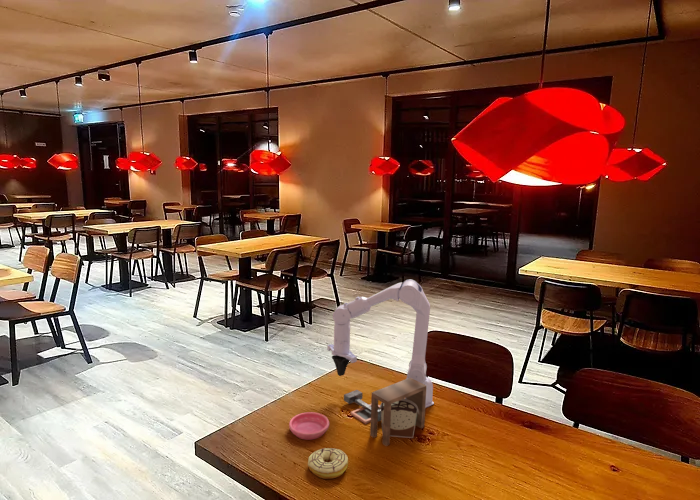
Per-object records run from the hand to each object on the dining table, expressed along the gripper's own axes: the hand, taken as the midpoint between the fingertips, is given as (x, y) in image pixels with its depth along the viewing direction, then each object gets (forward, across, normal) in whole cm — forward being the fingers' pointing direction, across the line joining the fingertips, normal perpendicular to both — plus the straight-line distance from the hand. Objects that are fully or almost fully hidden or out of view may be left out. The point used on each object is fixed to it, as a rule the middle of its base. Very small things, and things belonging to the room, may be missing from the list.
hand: (341, 374), depth 160 cm
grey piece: (+7, +14, 0) cm, 16 cm away
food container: (+8, +29, 0) cm, 30 cm away
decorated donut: (+8, +30, -28) cm, 42 cm away
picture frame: (+8, +16, 0) cm, 18 cm away
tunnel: (+8, +29, 0) cm, 30 cm away
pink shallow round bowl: (+8, +12, -22) cm, 26 cm away
